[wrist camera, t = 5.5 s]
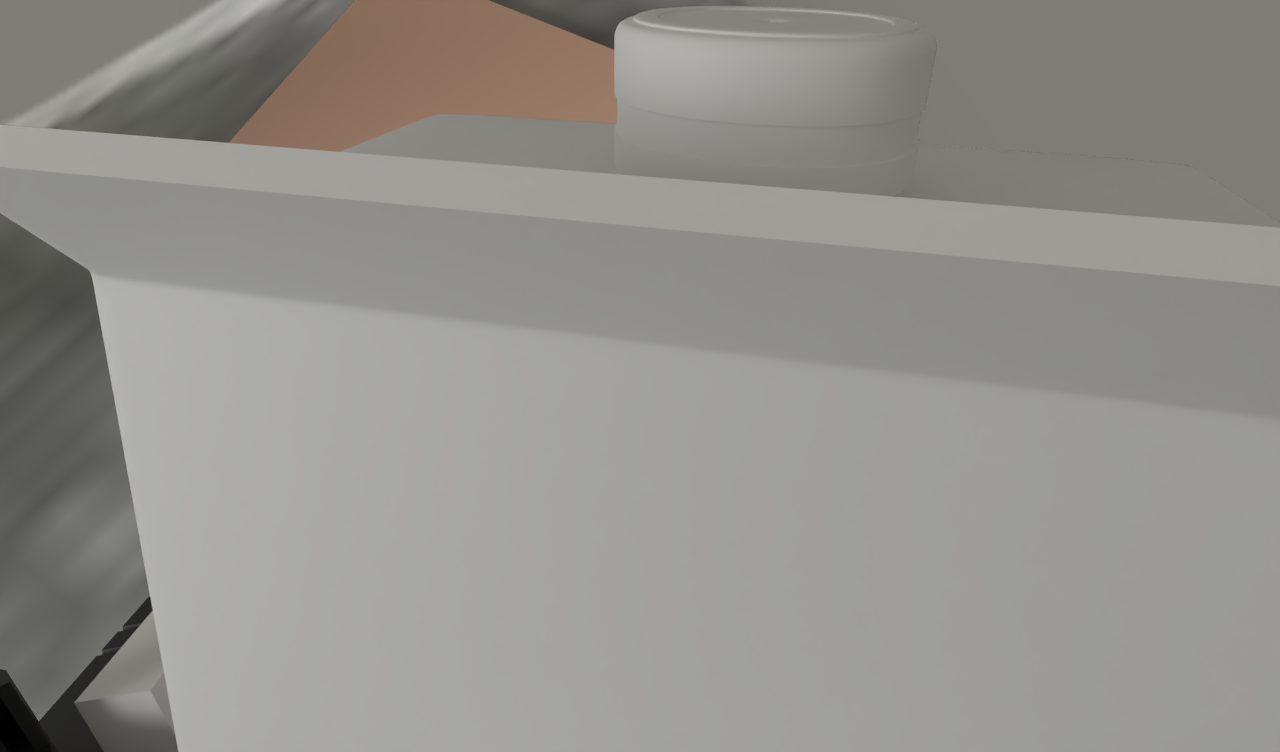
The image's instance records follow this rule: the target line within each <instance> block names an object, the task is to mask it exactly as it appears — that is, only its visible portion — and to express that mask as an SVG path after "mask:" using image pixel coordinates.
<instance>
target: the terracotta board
mask: <svg viewBox="0 0 1280 752" xmlns="http://www.w3.org/2000/svg"><path fill="white" fill-rule="evenodd" d="M436 114H469V115H492V116H511V117H528V118H542V119H556V120H570V121H585V122H600V123H615V124H617V114H618V108H617V98H616V97H615V91H614V50H613V49H611V48H608V47H605V46H603V45H600V44H598V43H595V42H593V41H590V40H588V39H585V38H583V37H580V36H578V35H575V34H573V33H570V32H568V31H565V30H563V29H560V28H558V27H555V26H553V25H550V24H548V23H545V22H543V21H540V20H538V19H535V18H533V17H530V16H527V15H525V14H522V13H520V12H517V11H515V10H512V9H510V8H507V7H505V6H502V5H500V4H497V3H495V2H492V1H490V0H354V2H353V3H352V4H351V5H350V6H349V7H348V8H347V9H346V11H345V12H344V13H343V14H342V15H341V16H340V17H339V19H338V20H337V21H336V22H335V23H334V24H333V25H332V26H331V28H330V29H329V30H328V31H327V32H326V33H325V34H324V35H323V37H322V38H321V39H320V40H319V41H318V42H317V43H316V45H315V46H314V47H313V48H312V49H311V50H310V51H309V52H308V54H307V55H306V56H305V57H304V58H303V59H302V60H301V62H300V63H299V64H298V65H297V66H296V67H295V68H294V69H293V71H292V72H291V73H290V74H289V75H288V76H287V77H286V78H285V80H284V81H283V82H282V83H281V84H280V85H279V86H278V88H277V89H276V90H275V91H274V92H273V93H272V94H271V95H270V97H269V98H268V99H267V100H266V101H265V102H264V103H263V104H262V106H261V107H260V108H259V109H258V110H257V111H256V112H255V114H254V115H253V116H252V117H251V118H250V119H249V120H248V121H247V123H246V124H245V125H244V126H243V127H242V128H241V129H240V131H239V132H238V133H237V134H236V135H235V136H234V137H233V138H232V140H231V141H230V142H229V143H235V144H248V145H260V146H273V147H285V148H297V149H310V150H322V151H335V152H340V151H343V150H345V149H348V148H350V147H353V146H355V145H358V144H360V143H363V142H365V141H368V140H370V139H373V138H375V137H378V136H380V135H383V134H386V133H388V132H391V131H393V130H396V129H398V128H401V127H403V126H406V125H408V124H411V123H413V122H416V121H418V120H421V119H424V118H427V117H430V116H433V115H436Z"/></svg>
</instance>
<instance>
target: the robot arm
mask: <svg viewBox="0 0 1280 752" xmlns="http://www.w3.org/2000/svg"><path fill="white" fill-rule="evenodd" d="M102 652H103V653H102V655H100V656H96V657H95V658H94V660H93V661H92V662H91V663H90V664H89V665H88V666H87V668H86V669H85V670H84V671H83V672H82V673H81V674H80V676H79V677H78V678H77V679H76V680H75V681H74V682H73V683H72V685H71V686H70V687H69V688H68V689H67V690H66V691H65V693H64V694H63V695H62V696H61V697H60V698H59V699H58V700H57V702H56V703H55V704H54V705H53V706H52V707H51V708H50V710H49V711H48V712H47V713H46V714H45V715H44V716H43V717H42V719H41V720H40V721H38V720H37V718H36V717H35V715H34V714H33V712H32V710H31V709H30V707H29V706H28V704H27V703H26V701H25V699H24V698H23V696H22V695H21V693H20V692H19V690H18V688H17V687H16V685H15V684H14V682H13V681H12V679H11V677H10V676H9V674H8V673H7V671H6V670H2V669H0V752H178V746H177V741H176V735H175V730H174V724H173V719H172V713H171V708H170V702H169V697H168V691H167V686H166V681H165V675H164V670H163V664H162V659H161V653H160V648H159V642H158V637H157V631H156V626H155V620H154V615H153V609H152V604H151V598H150V597H148V598H147V599H146V601H145V602H144V603H143V604H142V605H141V606H140V607H139V609H138V610H137V611H136V612H135V613H134V614H133V615H132V616H131V618H130V619H129V620H128V621H127V622H126V623H125V624H124V626H123V631H121V632H117V634H116V635H115V636H114V637H113V638H112V639H111V640H110V641H109V643H108V644H107V645H106V646H105V647H104V648H103V649H102Z"/></svg>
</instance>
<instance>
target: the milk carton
mask: <svg viewBox="0 0 1280 752" xmlns="http://www.w3.org/2000/svg"><path fill="white" fill-rule="evenodd" d="M935 55H936V39H935V36H934V34H933V32H932V31H930V30H929V29H927V28H926V27H924V26H921V25H919V24H917V23H915V22H914V21H911V20H908V19H904V18H900V17H895V16H889V15H883V14H875V13H866V12H856V11H844V10H830V9H813V8H793V7H764V6H691V7H674V8H662V9H655V10H649V11H645V12H641V13H638V14H637V15H635V16H632V17H628V18H626V19H625V20H623V21H621V22H620V23H619V25H618V26H617V29H616V31H615V39H614V91H615V97H616V98H617V108H618V114H617V124H615V123H600V122H585V121H570V120H556V119H542V118H528V117H511V116H492V115H469V114H436V115H433V116H430V117H427V118H424V119H421V120H418V121H416V122H413V123H411V124H408V125H406V126H403V127H401V128H398V129H396V130H393V131H391V132H388V133H386V134H383V135H380V136H378V137H375V138H373V139H370V140H368V141H365V142H363V143H360V144H358V145H355V146H353V147H350V148H348V149H345V150H343V151H340V152H335V151H322V150H310V149H297V148H285V147H273V146H260V145H248V144H235V143H223V142H211V141H198V140H186V139H174V138H161V137H149V136H136V135H124V134H112V133H99V132H87V131H74V130H62V129H50V128H37V127H25V126H12V125H0V213H1V214H2V215H4V216H5V217H7V218H8V219H10V220H12V221H13V222H15V223H16V224H18V225H19V226H21V227H23V228H24V229H26V230H27V231H29V232H30V233H32V234H33V235H35V236H37V237H38V238H40V239H41V240H43V241H44V242H46V243H48V244H49V245H51V246H52V247H54V248H55V249H57V250H58V251H60V252H62V253H63V254H65V255H66V256H68V257H69V258H71V259H73V260H74V261H76V262H77V263H79V264H80V265H82V266H83V267H85V268H87V269H88V270H89V271H90V273H91V276H92V279H93V285H94V290H95V296H96V301H97V307H98V312H99V318H100V323H101V329H102V334H103V340H104V345H105V351H106V356H107V362H108V367H109V373H110V378H111V384H112V389H113V395H114V400H115V406H116V411H117V417H118V422H119V428H120V433H121V439H122V444H123V450H124V455H125V461H126V466H127V472H128V477H129V483H130V488H131V494H132V499H133V505H134V510H135V516H136V521H137V527H138V532H139V538H140V543H141V549H142V554H143V560H144V565H145V571H146V576H147V582H148V587H149V593H150V598H151V604H152V609H153V615H154V620H155V626H156V631H157V637H158V642H159V648H160V653H161V659H162V664H163V670H164V675H165V681H166V686H167V691H168V697H169V702H170V708H171V713H172V719H173V724H174V730H175V735H176V741H177V746H178V752H1280V223H1279V222H1278V221H1277V220H1275V219H1273V218H1272V217H1270V216H1269V215H1267V214H1266V213H1264V212H1263V211H1261V210H1260V209H1258V208H1256V207H1255V206H1253V205H1252V204H1250V203H1249V202H1247V201H1245V200H1244V199H1242V198H1241V197H1239V196H1238V195H1236V194H1235V193H1233V192H1232V191H1230V190H1229V189H1227V188H1226V187H1224V186H1222V185H1221V184H1219V183H1218V182H1216V181H1215V180H1213V179H1212V178H1210V177H1208V176H1207V175H1205V174H1204V173H1202V172H1200V171H1198V170H1197V169H1195V168H1193V167H1190V166H1188V165H1180V164H1173V163H1163V162H1152V161H1142V160H1133V159H1121V158H1109V157H1108V158H1107V157H1096V156H1084V155H1071V154H1055V153H1040V152H1025V151H1010V150H996V149H981V148H966V147H951V146H937V145H924V144H919V139H918V138H917V134H918V128H919V123H920V117H921V114H922V111H923V110H924V109H925V107H926V103H927V98H928V93H929V88H930V82H931V77H932V71H933V65H934V60H935Z"/></svg>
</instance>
